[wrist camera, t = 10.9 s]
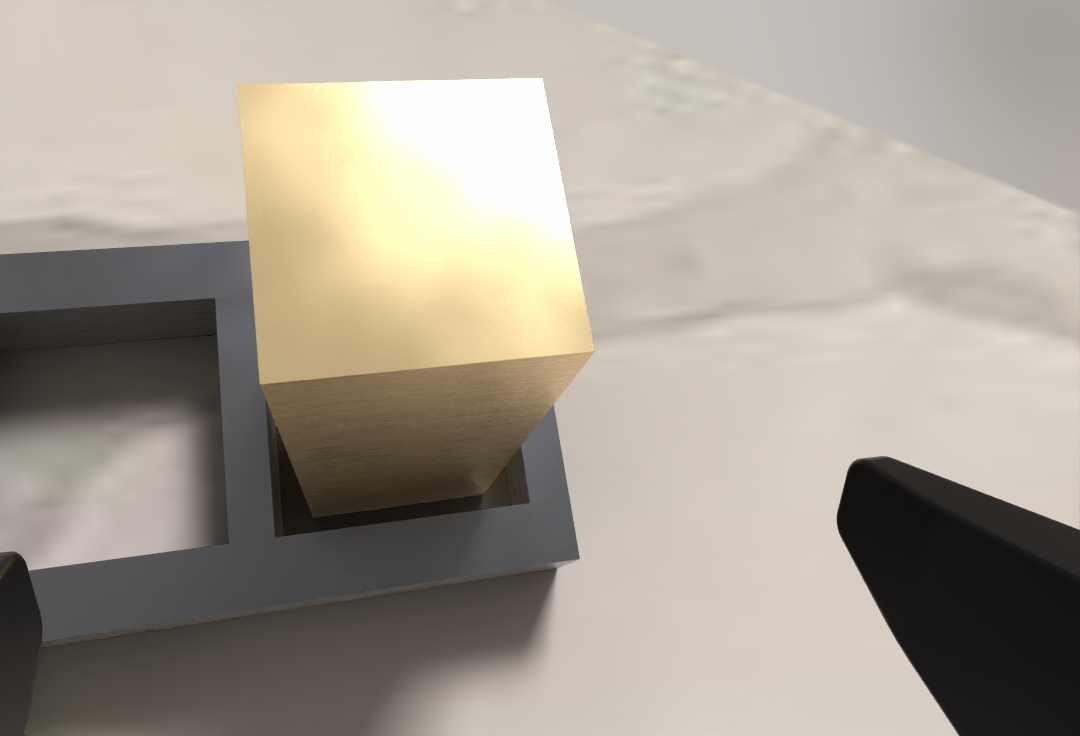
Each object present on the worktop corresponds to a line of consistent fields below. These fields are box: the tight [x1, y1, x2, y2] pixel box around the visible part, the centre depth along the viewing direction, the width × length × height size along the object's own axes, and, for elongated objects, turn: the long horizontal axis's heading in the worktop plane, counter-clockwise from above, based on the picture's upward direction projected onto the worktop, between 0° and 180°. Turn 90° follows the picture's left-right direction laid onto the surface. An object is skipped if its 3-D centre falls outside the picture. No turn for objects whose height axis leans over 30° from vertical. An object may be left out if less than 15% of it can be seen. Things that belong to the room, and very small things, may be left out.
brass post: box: [237, 79, 595, 518], centre depth 18 cm, size 4×4×12 cm
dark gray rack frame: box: [0, 241, 580, 648], centre depth 21 cm, size 9×15×2 cm, turn 99°
